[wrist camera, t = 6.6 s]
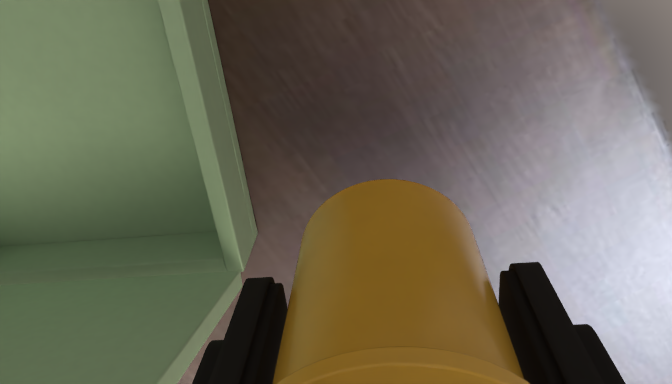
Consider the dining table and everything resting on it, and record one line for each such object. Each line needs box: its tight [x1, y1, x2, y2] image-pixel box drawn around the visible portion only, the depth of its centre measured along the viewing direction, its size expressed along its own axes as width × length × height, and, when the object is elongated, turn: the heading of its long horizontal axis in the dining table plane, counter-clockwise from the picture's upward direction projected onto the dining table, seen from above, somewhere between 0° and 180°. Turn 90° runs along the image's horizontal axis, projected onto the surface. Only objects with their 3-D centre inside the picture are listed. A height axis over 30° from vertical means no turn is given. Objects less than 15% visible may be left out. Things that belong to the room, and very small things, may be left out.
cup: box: [272, 179, 530, 384], centre depth 9 cm, size 5×5×5 cm
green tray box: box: [0, 0, 258, 285], centre depth 21 cm, size 16×15×3 cm
